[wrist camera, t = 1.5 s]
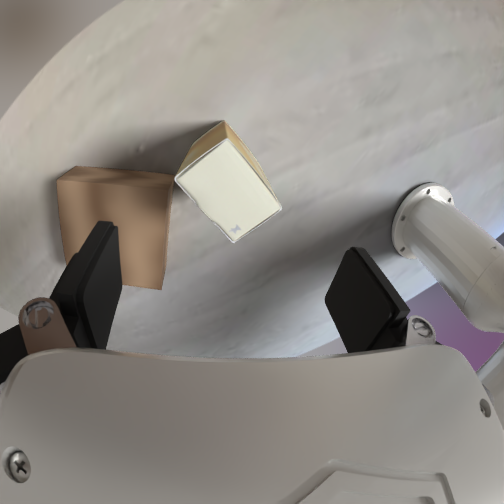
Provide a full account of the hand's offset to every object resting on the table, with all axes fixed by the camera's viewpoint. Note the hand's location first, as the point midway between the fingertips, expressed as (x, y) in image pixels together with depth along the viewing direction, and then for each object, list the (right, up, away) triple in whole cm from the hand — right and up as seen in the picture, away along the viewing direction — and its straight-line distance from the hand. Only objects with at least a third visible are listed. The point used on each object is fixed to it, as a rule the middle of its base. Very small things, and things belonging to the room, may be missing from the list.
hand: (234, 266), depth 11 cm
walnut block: (-15, +5, +19) cm, 24 cm away
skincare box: (-2, +11, +16) cm, 20 cm away
